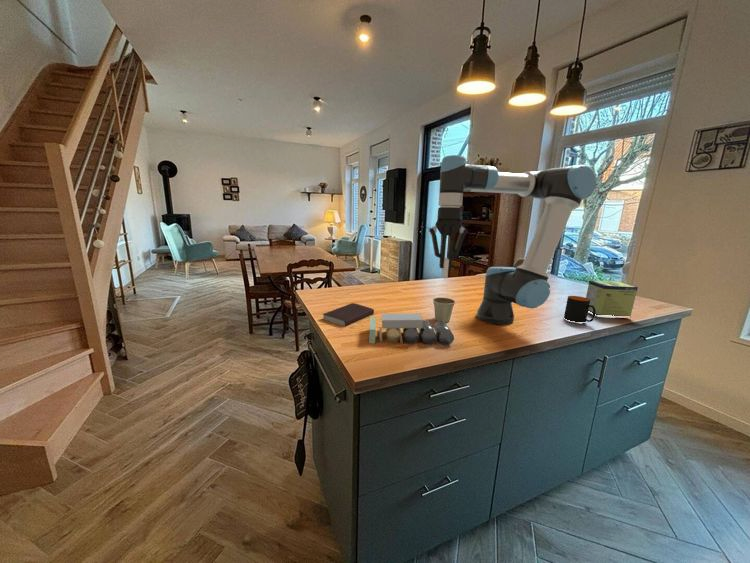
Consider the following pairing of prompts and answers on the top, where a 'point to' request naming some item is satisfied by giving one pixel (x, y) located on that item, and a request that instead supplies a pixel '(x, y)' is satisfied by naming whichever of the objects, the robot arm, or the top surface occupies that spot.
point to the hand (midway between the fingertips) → (444, 277)
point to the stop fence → (372, 329)
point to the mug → (578, 309)
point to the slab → (402, 320)
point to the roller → (393, 335)
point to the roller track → (426, 333)
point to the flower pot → (443, 308)
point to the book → (348, 314)
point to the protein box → (611, 297)
